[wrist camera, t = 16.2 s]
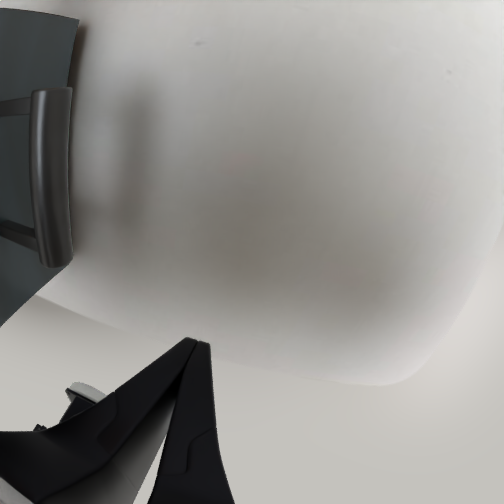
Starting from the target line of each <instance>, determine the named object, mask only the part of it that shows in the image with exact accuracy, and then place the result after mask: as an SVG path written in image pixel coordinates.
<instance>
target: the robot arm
mask: <svg viewBox="0 0 504 504" xmlns="http://www.w3.org/2000/svg"><path fill="white" fill-rule="evenodd" d="M65 392H66V393H67V395H68V397H69V399H70V401H71V404H70V405H69V407H68V409H67V410H66V412H65V413H64V415H63V417H62V418H61V420H60V422H59V424H57V425H55V426H53V427H51V428H48V429H47V428H46V427H45V426H40V425H39V424H37V425H36V427H35V428H34V430H33V431H15V432H14V431H13V432H12V431H9V432H8V431H0V504H133V502H134V500H135V498H136V496H137V494H138V491H139V489H140V487H141V485H142V483H143V481H144V479H145V477H146V475H147V473H148V471H149V469H150V467H151V465H152V462H153V461H154V459H155V456H156V454H157V452H158V450H159V448H160V446H161V444H162V442H163V440H164V438H165V436H166V439H165V443H164V447H163V452H162V456H161V459H160V464H159V468H158V472H157V477H156V480H155V484H154V487H153V491H152V493H151V496H150V498H149V500H148V503H147V504H235V503H234V500H233V497H232V494H231V490H230V487H229V484H228V481H227V478H226V474H225V471H224V467H223V463H222V460H221V455H220V450H219V443H218V437H217V428H216V416H215V404H214V392H213V379H212V365H211V349H210V344H209V343H206V342H203V341H197V340H196V339H192V338H189V337H186V338H184V339H183V340H182V341H180V342H179V343H178V344H176V345H175V346H174V347H172V348H171V349H170V350H169V351H167V352H166V353H165V354H163V355H162V356H160V357H159V358H158V359H156V360H155V361H154V362H152V363H151V364H150V365H149V366H147V367H146V368H144V369H143V370H142V371H140V372H139V373H138V374H136V375H135V376H134V377H132V378H131V379H130V380H128V381H127V382H126V383H124V384H123V385H121V386H120V387H119V388H117V389H116V390H115V392H112V393H110V394H109V395H108V396H106V397H105V398H103V399H102V400H100V401H99V402H97V403H96V402H94V401H92V400H90V399H88V398H86V397H84V396H82V395H80V394H78V393H77V392H75V391H73V390H71V389H69V388H67V389H66V390H65ZM166 434H167V435H166Z"/></svg>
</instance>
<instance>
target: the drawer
mask: <svg viewBox="0 0 504 504" xmlns="http://www.w3.org/2000/svg"><path fill="white" fill-rule="evenodd" d="M78 24H79V20H78V19H74V18H69V17H64V16H59V15H54V14H48V13H42V12H35V11H28V10H20V9H9V8H0V327H1V326H2V325H3V324H4V323H5V322H6V321H7V320H8V319H9V318H10V317H11V316H12V315H13V314H14V313H15V312H16V311H17V310H18V309H19V308H20V307H21V306H22V305H23V304H24V303H26V302H27V301H28V300H29V299H30V298H31V297H32V296H33V295H34V294H35V293H36V292H37V291H39V290H40V289H41V288H42V287H43V286H44V285H45V284H46V283H48V282H49V281H50V280H51V279H52V278H53V277H54V276H56V275H57V274H58V273H59V272H60V271H61V270H63V269H64V268H65V267H66V266H67V265H69V263H70V262H71V261H72V259H73V256H74V254H73V246H72V237H71V226H70V214H69V196H68V139H69V122H70V109H71V99H72V91H73V89H72V87H67V81H68V74H69V68H70V62H71V56H72V51H73V46H74V41H75V36H76V32H77V28H78Z"/></svg>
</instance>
